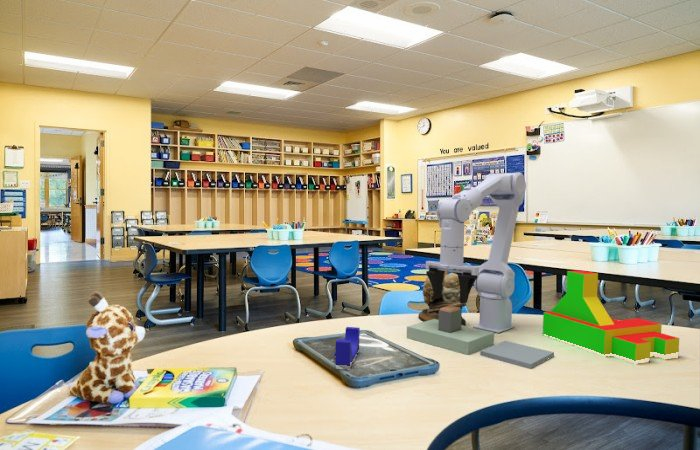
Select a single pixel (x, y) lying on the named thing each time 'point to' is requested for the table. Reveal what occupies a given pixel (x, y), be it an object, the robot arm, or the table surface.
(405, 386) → the table surface
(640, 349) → the building blocks toy
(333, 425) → the table surface
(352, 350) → the blue stepped block
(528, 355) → the mat
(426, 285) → the owl figurine
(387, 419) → the table surface
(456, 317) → the plug
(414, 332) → the socket block
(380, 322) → the table surface
